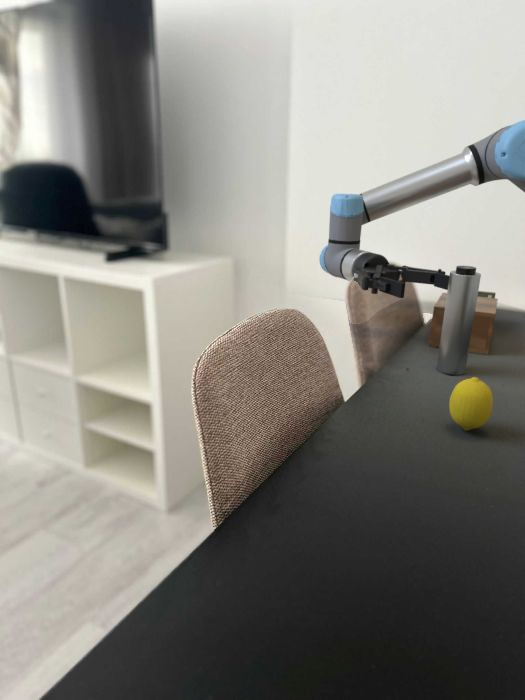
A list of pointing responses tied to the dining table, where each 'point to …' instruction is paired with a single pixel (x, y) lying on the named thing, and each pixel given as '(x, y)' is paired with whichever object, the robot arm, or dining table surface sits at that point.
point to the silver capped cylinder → (458, 320)
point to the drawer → (486, 294)
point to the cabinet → (480, 324)
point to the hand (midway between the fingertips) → (432, 288)
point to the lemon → (471, 403)
